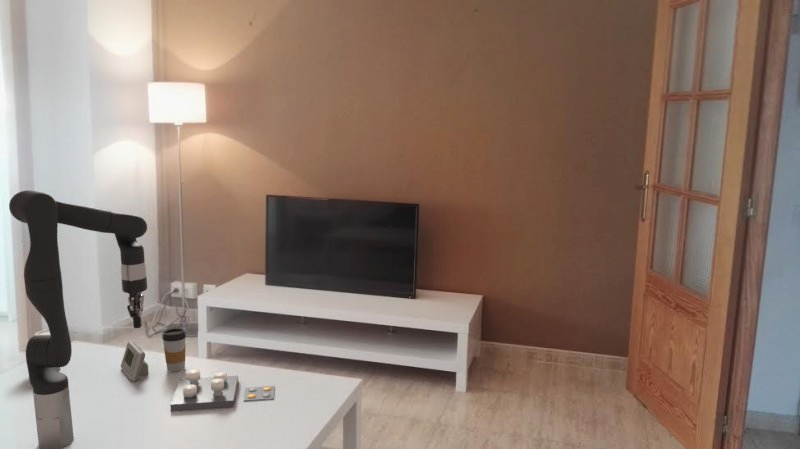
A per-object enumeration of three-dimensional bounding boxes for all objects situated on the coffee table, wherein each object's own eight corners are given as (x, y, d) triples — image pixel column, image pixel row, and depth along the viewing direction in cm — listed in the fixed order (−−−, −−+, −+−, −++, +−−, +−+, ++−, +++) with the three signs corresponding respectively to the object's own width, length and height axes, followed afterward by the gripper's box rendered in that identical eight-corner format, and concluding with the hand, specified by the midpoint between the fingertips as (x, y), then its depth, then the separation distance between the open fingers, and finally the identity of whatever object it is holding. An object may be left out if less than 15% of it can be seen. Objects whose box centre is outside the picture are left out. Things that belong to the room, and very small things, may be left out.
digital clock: (120, 367, 247) (118, 341, 245) (146, 363, 251) (144, 337, 249) (122, 384, 233) (120, 356, 231) (149, 380, 237) (147, 352, 235)
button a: (196, 404, 217) (195, 389, 216) (182, 405, 217) (181, 390, 216) (198, 399, 222) (197, 384, 221) (184, 399, 221) (184, 385, 220)
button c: (199, 388, 226) (199, 374, 225) (186, 389, 225) (185, 375, 224) (201, 383, 230) (200, 369, 229) (188, 384, 229) (187, 369, 228)
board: (233, 407, 216) (233, 400, 216) (170, 411, 213) (170, 404, 212) (238, 382, 235) (238, 375, 235) (180, 385, 232) (180, 379, 232)
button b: (224, 398, 218) (223, 383, 217) (210, 399, 218) (209, 384, 217) (225, 392, 223) (224, 378, 222) (212, 393, 222) (211, 378, 221)
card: (273, 399, 222) (273, 397, 222) (243, 401, 220) (243, 399, 220) (274, 386, 232) (274, 385, 232) (245, 388, 230) (245, 387, 230)
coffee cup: (163, 367, 248) (161, 329, 245) (186, 363, 252) (184, 326, 249) (165, 375, 241) (163, 336, 238) (189, 371, 244) (186, 333, 241)
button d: (226, 391, 227) (226, 376, 226) (213, 392, 227) (213, 377, 226) (228, 385, 232) (227, 371, 231) (215, 386, 231) (214, 372, 230)
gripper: (126, 271, 216) (130, 321, 219) (116, 282, 203) (120, 335, 206) (150, 270, 217) (153, 320, 220) (141, 281, 204) (145, 333, 207)
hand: (137, 327), depth 213 cm, fingers closed
